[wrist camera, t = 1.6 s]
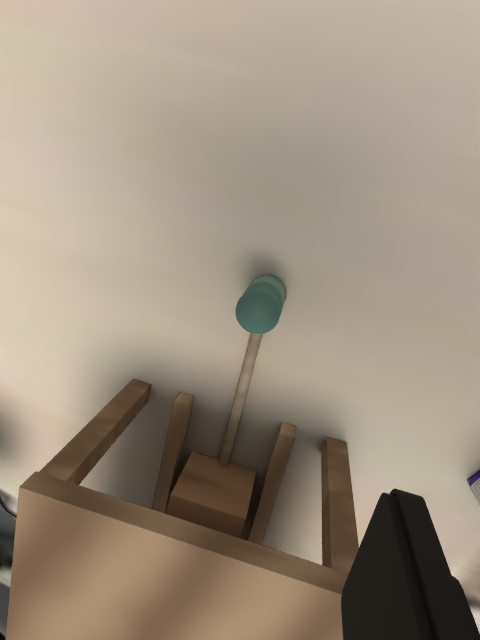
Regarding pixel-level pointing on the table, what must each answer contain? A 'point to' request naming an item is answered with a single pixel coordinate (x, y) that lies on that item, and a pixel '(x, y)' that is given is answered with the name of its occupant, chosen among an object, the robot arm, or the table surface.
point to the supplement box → (475, 485)
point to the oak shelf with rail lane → (169, 551)
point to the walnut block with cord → (229, 431)
